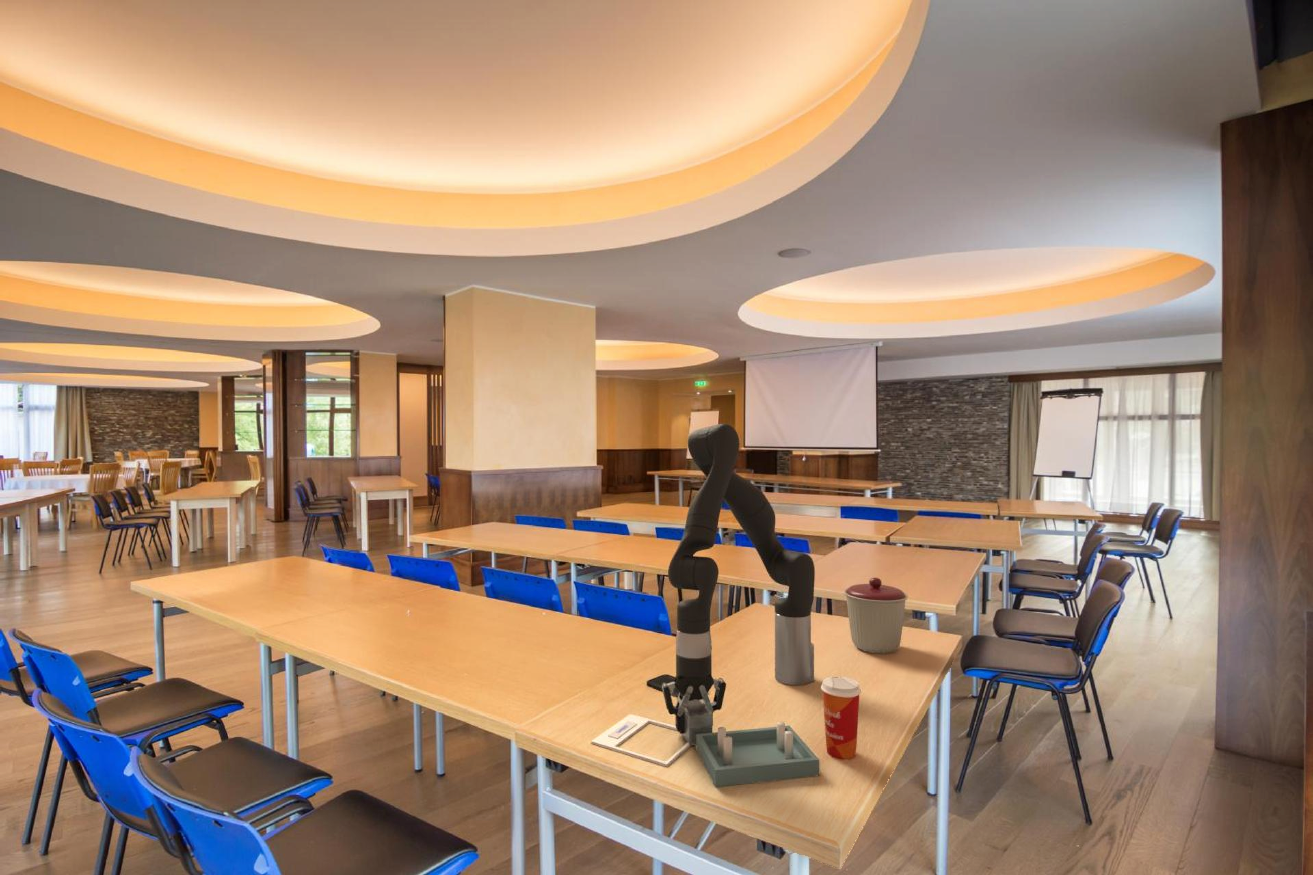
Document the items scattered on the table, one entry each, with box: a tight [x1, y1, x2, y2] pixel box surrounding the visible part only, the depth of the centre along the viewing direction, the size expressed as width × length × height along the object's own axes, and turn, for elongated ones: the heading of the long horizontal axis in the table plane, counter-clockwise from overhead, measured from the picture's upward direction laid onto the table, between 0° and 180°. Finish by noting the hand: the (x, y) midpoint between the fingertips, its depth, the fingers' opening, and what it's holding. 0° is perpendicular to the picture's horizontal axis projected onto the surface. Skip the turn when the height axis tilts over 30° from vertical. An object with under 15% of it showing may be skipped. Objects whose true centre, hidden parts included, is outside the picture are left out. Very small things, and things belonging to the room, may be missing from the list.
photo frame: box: [590, 713, 691, 768], centre depth 130 cm, size 15×1×18 cm
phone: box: [646, 674, 680, 698], centre depth 156 cm, size 8×1×15 cm
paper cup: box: [820, 676, 862, 761], centre depth 124 cm, size 8×8×14 cm
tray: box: [695, 721, 820, 788], centre depth 121 cm, size 20×14×6 cm
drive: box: [676, 697, 713, 747], centre depth 132 cm, size 9×5×6 cm, turn 14°
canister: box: [843, 577, 909, 654], centre depth 187 cm, size 18×18×21 cm
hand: (694, 730), depth 132 cm, fingers closed on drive, 5 cm apart
